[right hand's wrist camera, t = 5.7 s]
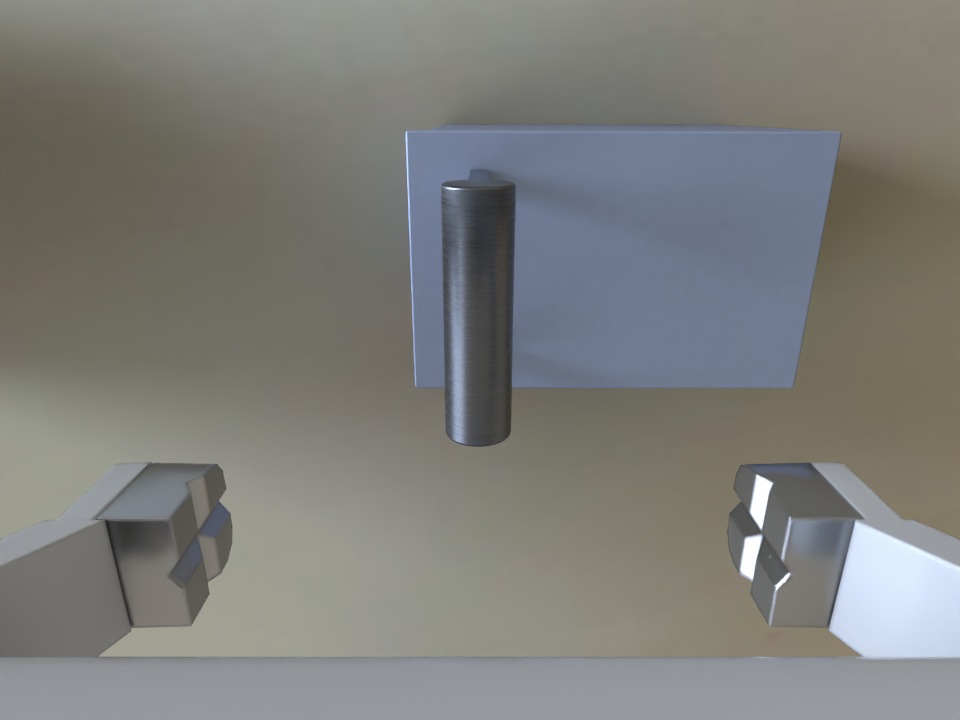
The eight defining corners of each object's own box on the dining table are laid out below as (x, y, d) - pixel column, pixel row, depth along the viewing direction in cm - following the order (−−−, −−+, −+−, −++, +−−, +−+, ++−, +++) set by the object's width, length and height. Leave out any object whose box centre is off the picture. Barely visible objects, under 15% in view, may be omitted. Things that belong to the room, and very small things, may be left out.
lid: (416, 380, 28) (392, 480, 20) (407, 130, 24) (374, 139, 17) (785, 381, 28) (899, 482, 20) (830, 131, 24) (990, 140, 17)
